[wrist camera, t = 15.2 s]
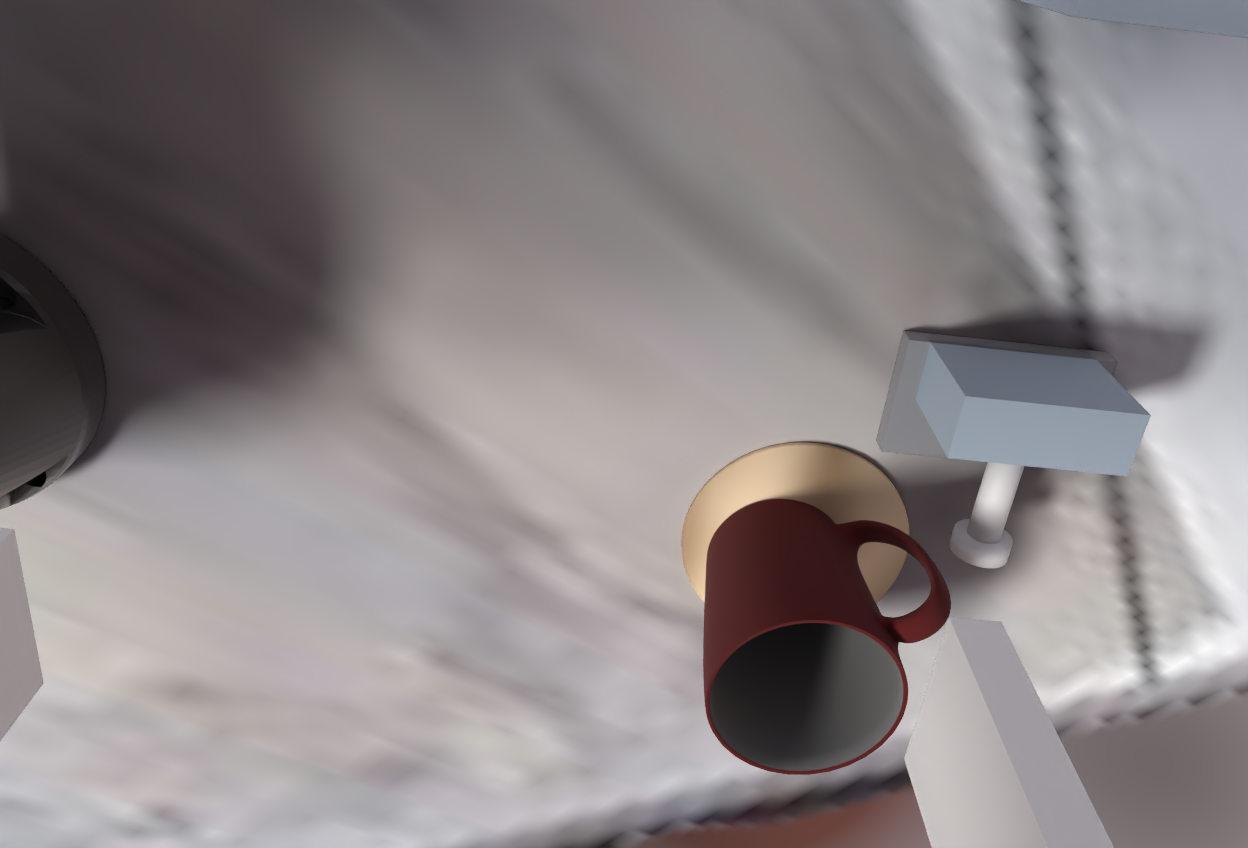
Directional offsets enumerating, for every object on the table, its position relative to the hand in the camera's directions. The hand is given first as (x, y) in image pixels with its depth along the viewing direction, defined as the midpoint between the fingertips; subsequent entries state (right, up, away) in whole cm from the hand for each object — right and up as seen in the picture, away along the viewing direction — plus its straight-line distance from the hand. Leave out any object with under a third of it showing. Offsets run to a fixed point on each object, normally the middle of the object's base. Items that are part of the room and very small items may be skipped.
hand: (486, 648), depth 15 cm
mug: (+11, -3, +40) cm, 42 cm away
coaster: (+11, -3, +41) cm, 42 cm away
